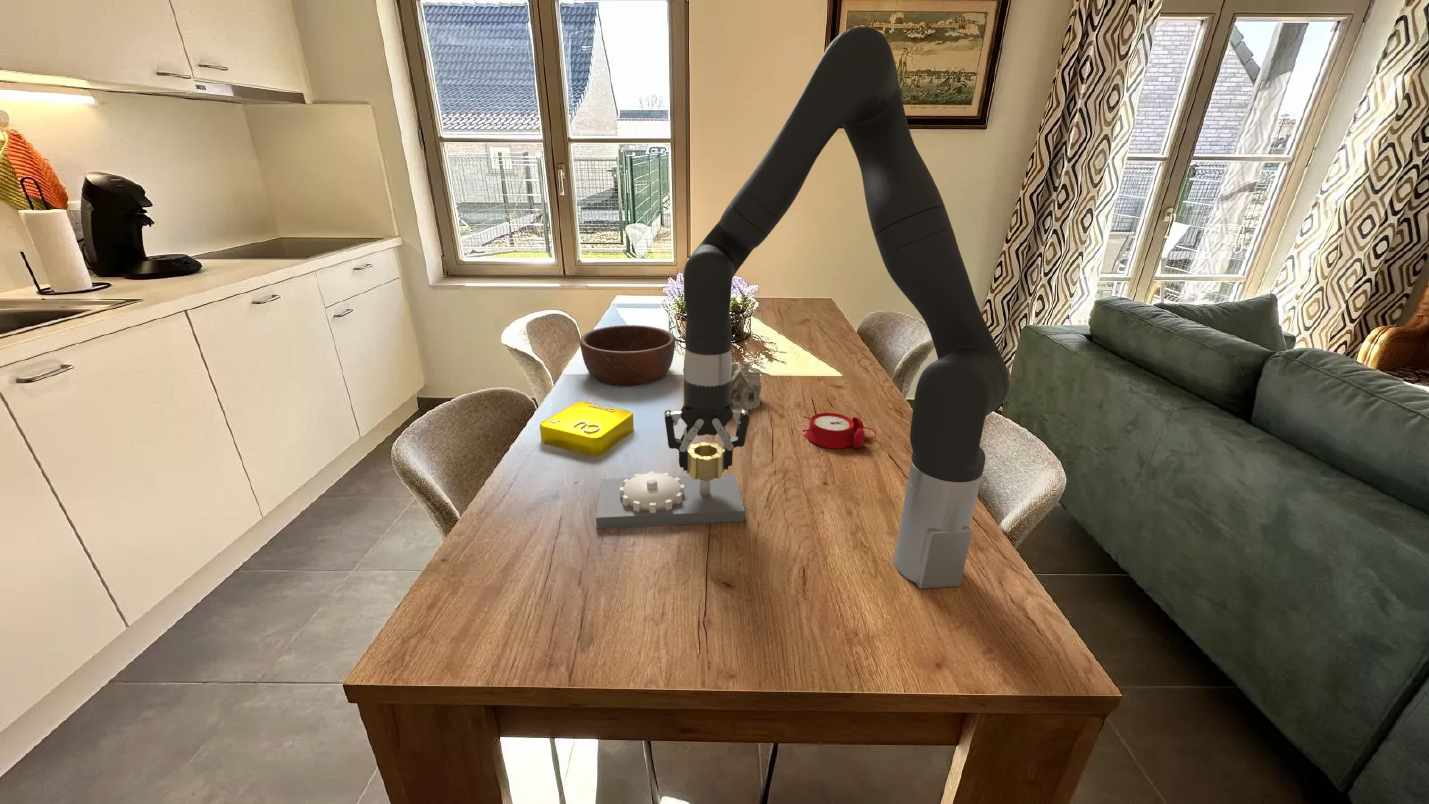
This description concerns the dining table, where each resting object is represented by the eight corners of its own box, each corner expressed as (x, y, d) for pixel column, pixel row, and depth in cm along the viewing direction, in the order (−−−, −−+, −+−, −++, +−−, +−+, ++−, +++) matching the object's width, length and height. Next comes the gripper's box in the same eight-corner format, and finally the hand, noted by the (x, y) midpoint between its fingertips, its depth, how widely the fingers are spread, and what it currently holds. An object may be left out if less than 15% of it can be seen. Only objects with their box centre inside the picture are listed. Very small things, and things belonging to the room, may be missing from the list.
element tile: (637, 429, 130) (636, 409, 128) (598, 459, 117) (596, 437, 115) (580, 416, 135) (578, 397, 133) (537, 443, 122) (534, 422, 121)
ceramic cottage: (687, 413, 137) (692, 351, 131) (703, 390, 152) (708, 333, 146) (753, 425, 134) (761, 362, 129) (763, 400, 149) (771, 343, 144)
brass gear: (725, 480, 98) (726, 459, 96) (687, 481, 97) (688, 460, 96) (721, 461, 104) (722, 441, 102) (685, 463, 103) (685, 442, 102)
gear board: (744, 521, 98) (746, 482, 95) (596, 528, 95) (594, 488, 92) (733, 483, 109) (735, 447, 106) (601, 488, 106) (599, 452, 103)
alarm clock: (802, 410, 131) (871, 402, 128) (806, 436, 134) (874, 428, 130) (801, 431, 122) (875, 422, 119) (805, 457, 124) (879, 450, 121)
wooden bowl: (631, 353, 177) (630, 319, 173) (694, 373, 162) (694, 337, 158) (562, 374, 159) (559, 337, 155) (626, 399, 144) (625, 359, 140)
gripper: (662, 384, 89) (663, 480, 96) (756, 383, 91) (751, 477, 98) (661, 367, 96) (662, 458, 103) (748, 366, 98) (744, 456, 104)
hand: (705, 467), depth 100 cm, fingers closed on brass gear, 6 cm apart
